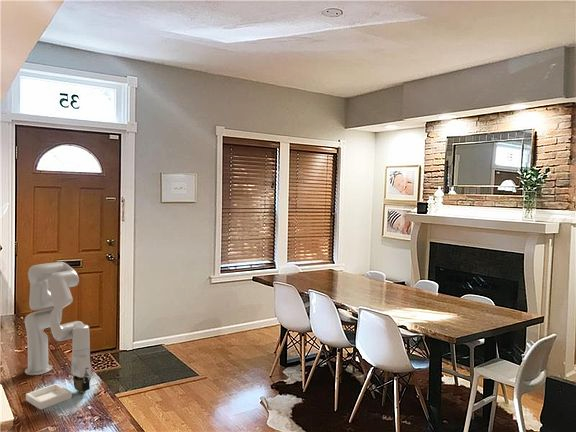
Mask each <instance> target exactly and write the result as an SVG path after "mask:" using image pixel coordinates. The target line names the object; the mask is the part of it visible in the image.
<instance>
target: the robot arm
mask: <svg viewBox="0 0 576 432" xmlns="http://www.w3.org/2000/svg"><path fill="white" fill-rule="evenodd" d="M27 277H28V282H29V300H28V301H29V302H28V303H29V305H28V306H29V309H30V310H32V311H34V312H31V313H29V314H27V315H26V316H25V317H24V325H25V330H26V339H27V340H26V341H27V368H25V370H24V373H25V374H26V375H27V376H38V375H44V374H47V373H49V372H50V371H52V365H51V364H49V336H48V334H47V333H46V332H45V331H44V329H47V328H50V331H51V334H52V336H53V338H54V340H55V341H57V342H62V341H66V340H67V341H68V340H70V339H71V340H72V341H71V346H72V351H71V352H72V353H71V361H70V362H71V363H70V364H71V365H70V370H71V371H70V373H71V374H72V375H73V377H74V376H77V377H79V378H82V379H83V391H89V390H90V389H91V387H90V386H91V385H90V384H91V383H90V382H91V379H92V377H93V375H92V372H91V370H92V369H91V367H92V365H91V358H90V357H91V356H90V354H91V346H90V345H91V343H90V342H91V340H90V332H91V331H90V326H89V325H88V324H84V323H83V322H82V321H80V320H75V321H71V322H66V323H63V324H61V322H62V318H63V309H64V308H66V307H67V306H69V305H71V304H72V303H73V301H74V299H73V295H72V292H71V290H70V288H73V287H76V286H78V285H79V282H80V277H79V275H78V273H77V272H76V270H75V269H74V268H73V267H71V266H70V265H69V264H68V263H67V262H63V261H56V262H47V263H41V264H39V263H38V264H34V265H31V266H30V267H29V269H28V272H27ZM85 374H86V376H84V375H85ZM73 377H72V378H73ZM85 377H87V378H86V379H85Z"/></svg>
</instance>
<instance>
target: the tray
mask: <svg viewBox="0 0 576 432" xmlns="http://www.w3.org/2000/svg"><path fill="white" fill-rule="evenodd" d="M72 392H73V391H71V390H69V389H68V388H66V387H63V386H62V385H60V384H58V383H54V384H52V385H48V386H45V387H41V388H39V389H36V390H33V391H31V392H27V393H25V401H26V402H28V403H29V404H31V405H32V406H34V407H35V408H37V409H38V410H43V409H46V408H49V407H51V406H53V405H57V404H60V403H62V402H66V401H68V400H71V399H72V396H73V395H72Z"/></svg>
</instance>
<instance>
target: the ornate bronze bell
mask: <svg viewBox="0 0 576 432" xmlns="http://www.w3.org/2000/svg"><path fill="white" fill-rule="evenodd" d="M73 376H74V375H73ZM84 376H86V374H85V375H84ZM86 378H87V377H85V379H86ZM72 381H73V387H74V389H75V390H77V393H78V394H85V393H86V391H87V390H86V391H83V379H82V378H79V377H77V376H74V377H72Z"/></svg>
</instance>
